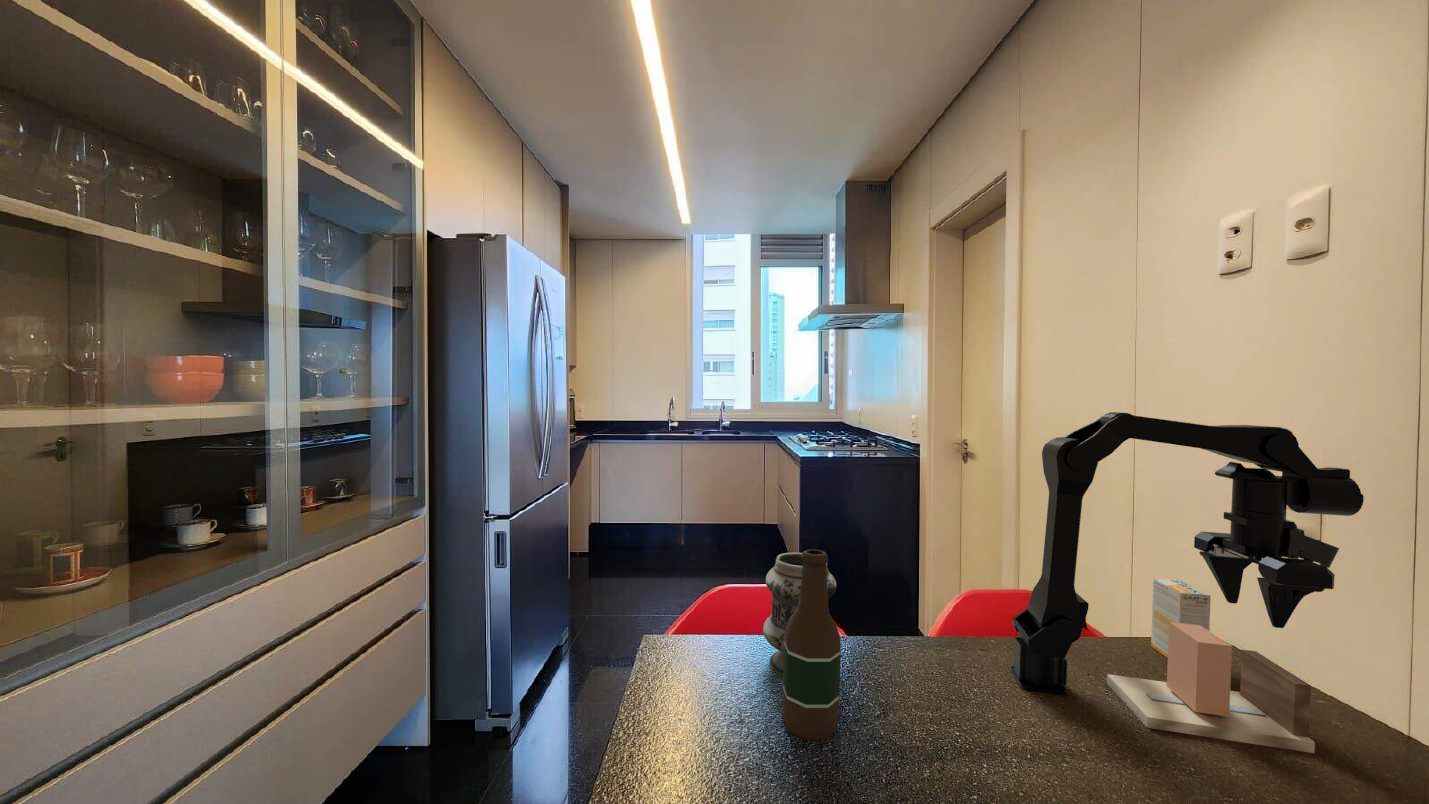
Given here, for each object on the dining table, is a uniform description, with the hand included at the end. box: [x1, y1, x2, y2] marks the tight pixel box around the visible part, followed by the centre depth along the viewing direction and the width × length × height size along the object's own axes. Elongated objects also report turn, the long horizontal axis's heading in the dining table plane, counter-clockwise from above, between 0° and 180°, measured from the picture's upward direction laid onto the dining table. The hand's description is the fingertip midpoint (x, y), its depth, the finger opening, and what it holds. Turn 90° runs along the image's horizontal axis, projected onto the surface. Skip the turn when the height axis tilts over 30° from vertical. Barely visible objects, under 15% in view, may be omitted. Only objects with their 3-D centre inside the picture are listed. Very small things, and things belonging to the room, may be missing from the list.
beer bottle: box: [781, 548, 842, 741], centre depth 73 cm, size 8×8×24 cm
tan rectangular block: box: [1166, 622, 1233, 717], centre depth 79 cm, size 4×7×10 cm, turn 166°
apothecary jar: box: [762, 552, 837, 677], centre depth 90 cm, size 12×12×18 cm
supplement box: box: [1150, 578, 1211, 659], centre depth 96 cm, size 8×5×13 cm, turn 168°
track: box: [1106, 649, 1316, 754], centre depth 79 cm, size 19×12×8 cm, turn 76°
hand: (1253, 614), depth 79 cm, fingers open, 9 cm apart
